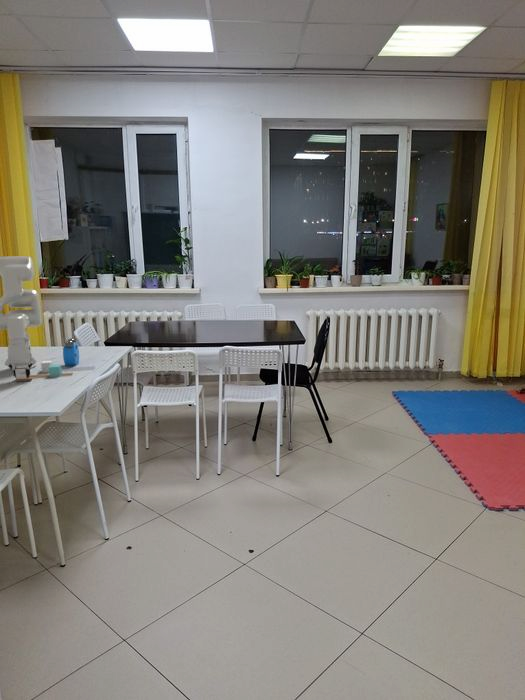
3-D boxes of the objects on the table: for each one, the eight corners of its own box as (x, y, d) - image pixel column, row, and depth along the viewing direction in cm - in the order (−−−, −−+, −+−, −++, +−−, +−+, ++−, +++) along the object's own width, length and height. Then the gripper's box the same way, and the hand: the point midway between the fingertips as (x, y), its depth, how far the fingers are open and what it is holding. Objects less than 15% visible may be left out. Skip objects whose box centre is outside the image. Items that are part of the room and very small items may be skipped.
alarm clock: (69, 363, 264) (66, 337, 261) (80, 362, 265) (78, 336, 262) (64, 369, 252) (61, 342, 248) (76, 368, 253) (73, 341, 250)
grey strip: (44, 371, 247) (42, 360, 246) (95, 368, 253) (94, 357, 252) (41, 374, 240) (40, 363, 239) (94, 371, 247) (93, 360, 245)
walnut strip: (19, 377, 235) (17, 366, 234) (73, 374, 241) (72, 363, 240) (15, 381, 228) (13, 370, 227) (71, 377, 235) (70, 366, 233)
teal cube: (51, 374, 238) (50, 364, 236) (61, 373, 239) (60, 364, 238) (49, 377, 233) (48, 367, 232) (60, 376, 234) (59, 366, 233)
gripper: (38, 338, 233) (42, 373, 238) (1, 340, 229) (5, 376, 234) (34, 341, 226) (39, 377, 231) (-4, 343, 222) (1, 380, 226)
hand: (22, 376), depth 232 cm, fingers closed on walnut strip, 4 cm apart
